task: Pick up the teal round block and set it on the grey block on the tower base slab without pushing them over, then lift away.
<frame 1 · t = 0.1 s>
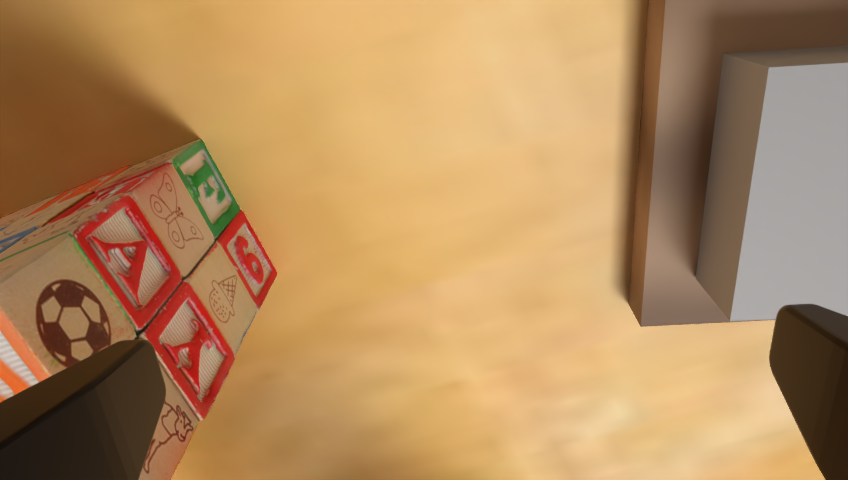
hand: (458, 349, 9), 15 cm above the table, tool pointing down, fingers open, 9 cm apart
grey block: (829, 168, 21), point 2 cm above the table, touching tower base slab
tower base slab: (794, 146, 23), on the table, touching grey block
stack of blocks: (24, 290, 26), on the table
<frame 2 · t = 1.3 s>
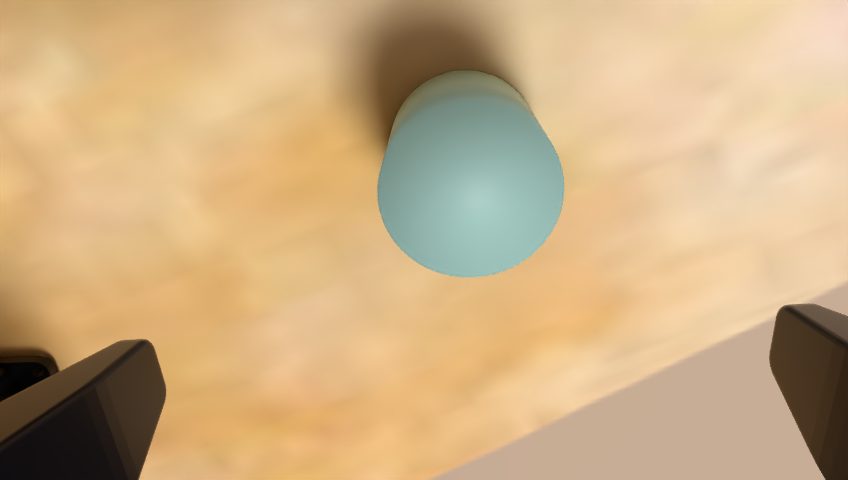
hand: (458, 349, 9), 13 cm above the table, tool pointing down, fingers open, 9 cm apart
teal round block: (463, 144, 21), on the table
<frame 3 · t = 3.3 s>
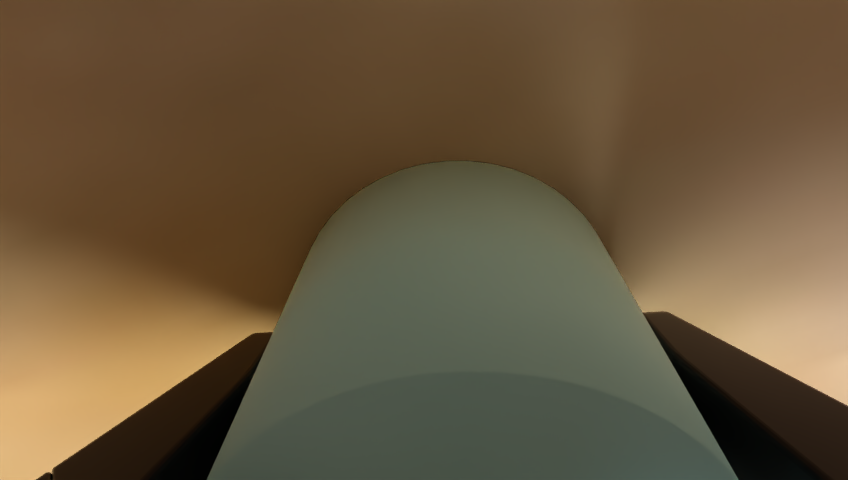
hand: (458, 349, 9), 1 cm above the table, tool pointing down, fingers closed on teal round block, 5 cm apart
teal round block: (456, 311, 10), on the table, touching gripper
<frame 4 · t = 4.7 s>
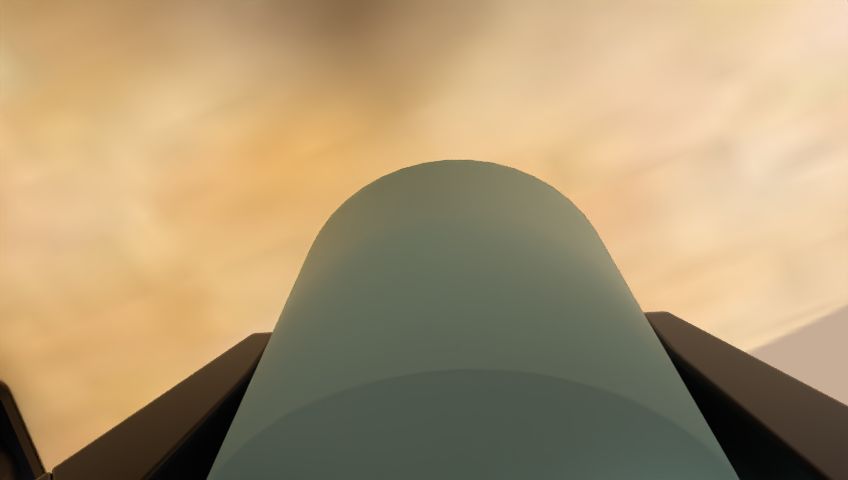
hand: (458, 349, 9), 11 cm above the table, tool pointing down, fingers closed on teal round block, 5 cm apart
teal round block: (456, 310, 10), point 10 cm above the table, touching gripper
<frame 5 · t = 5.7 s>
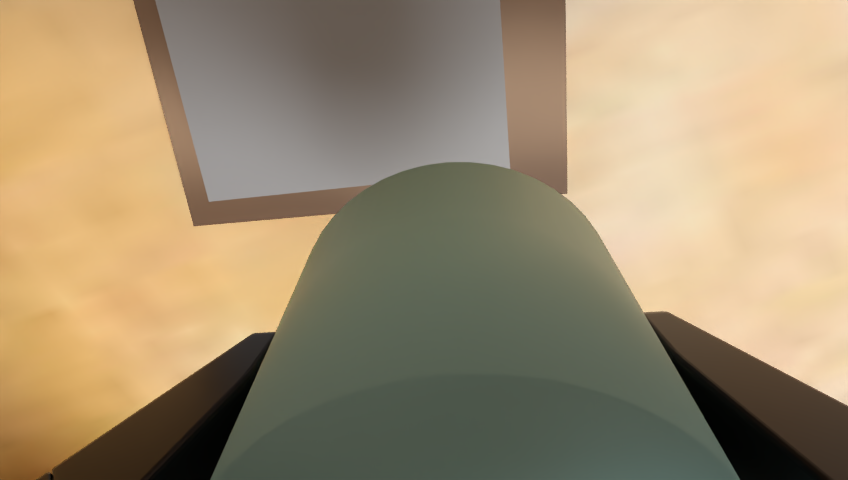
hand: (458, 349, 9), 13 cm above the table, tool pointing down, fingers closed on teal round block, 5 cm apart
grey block: (347, 17, 17), point 2 cm above the table
teal round block: (457, 312, 10), point 12 cm above the table, touching gripper
tower base slab: (359, 5, 20), on the table
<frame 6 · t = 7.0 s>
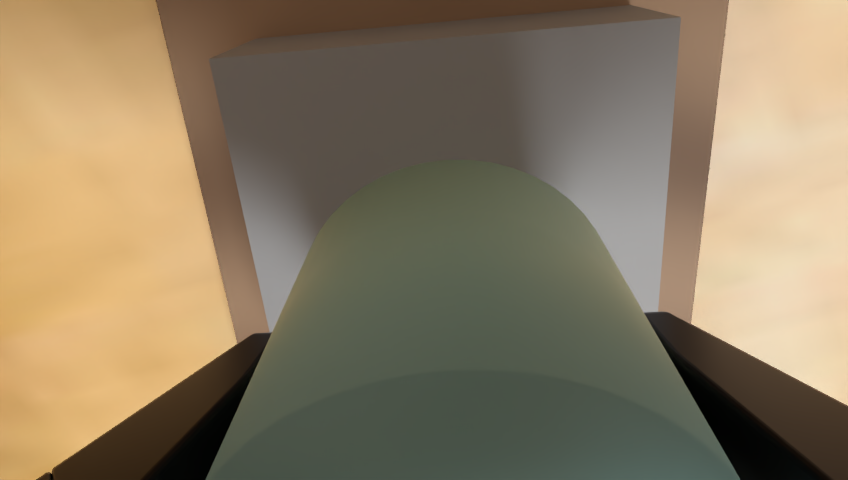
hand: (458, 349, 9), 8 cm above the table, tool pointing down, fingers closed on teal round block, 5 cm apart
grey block: (452, 197, 15), point 2 cm above the table, touching tower base slab
teal round block: (456, 310, 10), point 7 cm above the table, touching gripper
tower base slab: (449, 157, 17), on the table, touching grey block
when the fingers open (7 cm above the table, at t = 7.6 s): teal round block drops 2 cm, point 5 cm above the table.
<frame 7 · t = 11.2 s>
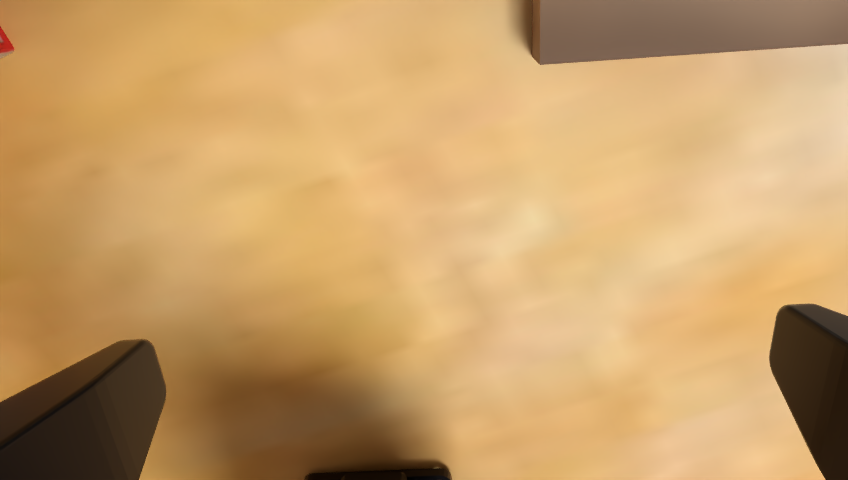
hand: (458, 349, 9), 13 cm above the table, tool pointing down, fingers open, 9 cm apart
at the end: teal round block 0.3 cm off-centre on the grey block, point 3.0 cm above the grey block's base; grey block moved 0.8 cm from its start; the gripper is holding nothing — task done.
